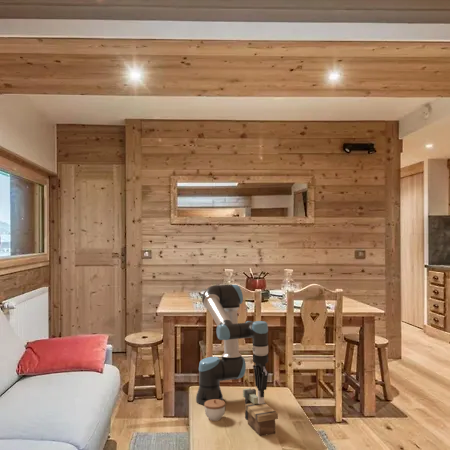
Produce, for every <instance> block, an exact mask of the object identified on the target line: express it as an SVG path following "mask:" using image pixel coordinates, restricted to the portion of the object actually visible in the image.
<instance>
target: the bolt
mask: <svg viewBox="0 0 450 450" xmlns="http://www.w3.org/2000/svg"><path fill="white" fill-rule="evenodd" d="M251 389H252V388H251V387H249V388H243V389H242V397H243V399H245V390H251ZM248 398H249V400H250V401H251V402H252V403H253V404H258V395H257V394H256V395H255V394H254V393H248Z"/></svg>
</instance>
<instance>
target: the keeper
mask: <svg viewBox="0 0 450 450" xmlns="http://www.w3.org/2000/svg"><path fill="white" fill-rule="evenodd" d="M250 389H251V390H245V398H244V405H245V404H250V403H252V402H251V401H250V400H249V398H248V393H254V394H255V395H256V396H257V390H256V389H255V388H250ZM244 410H245V409H244ZM244 413H245V414H244V415H245V417H244V418H245V420H246V421H248V412H247V411H246V410H245V411H244Z"/></svg>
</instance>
